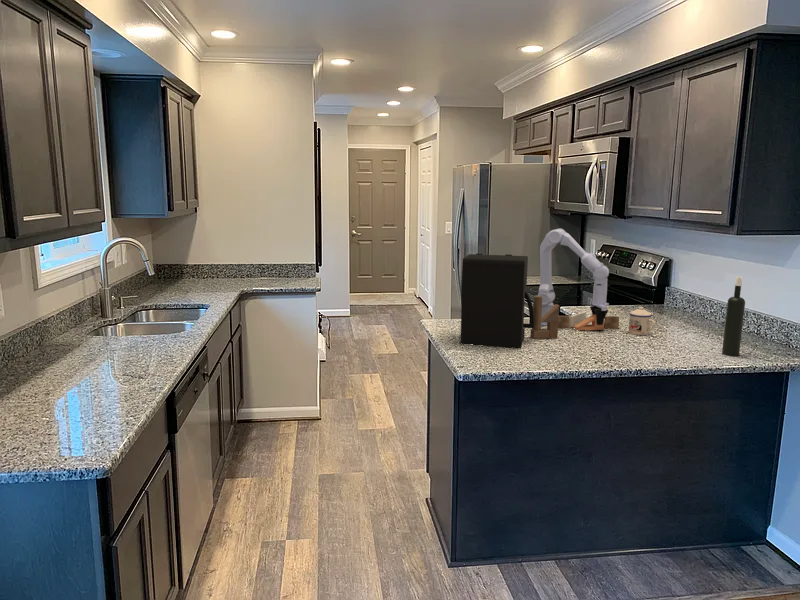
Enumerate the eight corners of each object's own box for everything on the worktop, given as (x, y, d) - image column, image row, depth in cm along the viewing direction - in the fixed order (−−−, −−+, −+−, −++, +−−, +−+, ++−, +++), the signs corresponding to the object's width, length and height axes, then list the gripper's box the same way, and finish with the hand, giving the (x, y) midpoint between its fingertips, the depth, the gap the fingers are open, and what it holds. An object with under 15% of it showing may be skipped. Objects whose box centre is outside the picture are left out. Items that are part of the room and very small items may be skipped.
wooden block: (557, 338, 251) (560, 296, 248) (533, 339, 250) (535, 296, 246) (554, 336, 255) (556, 294, 252) (530, 337, 253) (531, 295, 250)
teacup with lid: (623, 332, 262) (625, 306, 260) (637, 330, 267) (639, 304, 265) (646, 338, 252) (648, 311, 250) (660, 335, 257) (663, 309, 254)
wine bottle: (719, 354, 229) (728, 276, 223) (724, 351, 233) (733, 274, 227) (736, 357, 225) (745, 278, 219) (741, 354, 229) (750, 276, 223)
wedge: (576, 330, 265) (576, 317, 264) (573, 328, 269) (573, 315, 268) (603, 329, 264) (604, 316, 263) (600, 327, 269) (600, 314, 268)
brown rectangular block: (555, 328, 269) (556, 316, 268) (554, 327, 271) (555, 315, 270) (618, 328, 269) (619, 316, 268) (617, 328, 270) (618, 316, 269)
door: (571, 327, 269) (572, 316, 268) (569, 327, 270) (569, 316, 269) (585, 322, 280) (586, 311, 280) (583, 321, 281) (583, 311, 280)
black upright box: (534, 337, 252) (538, 255, 246) (531, 349, 234) (535, 260, 227) (468, 333, 260) (470, 252, 253) (460, 344, 241) (462, 258, 235)
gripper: (614, 296, 256) (612, 327, 259) (603, 290, 271) (601, 319, 273) (597, 296, 256) (595, 327, 259) (588, 290, 271) (586, 319, 273)
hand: (597, 323), depth 266 cm, fingers closed on wedge, 4 cm apart
